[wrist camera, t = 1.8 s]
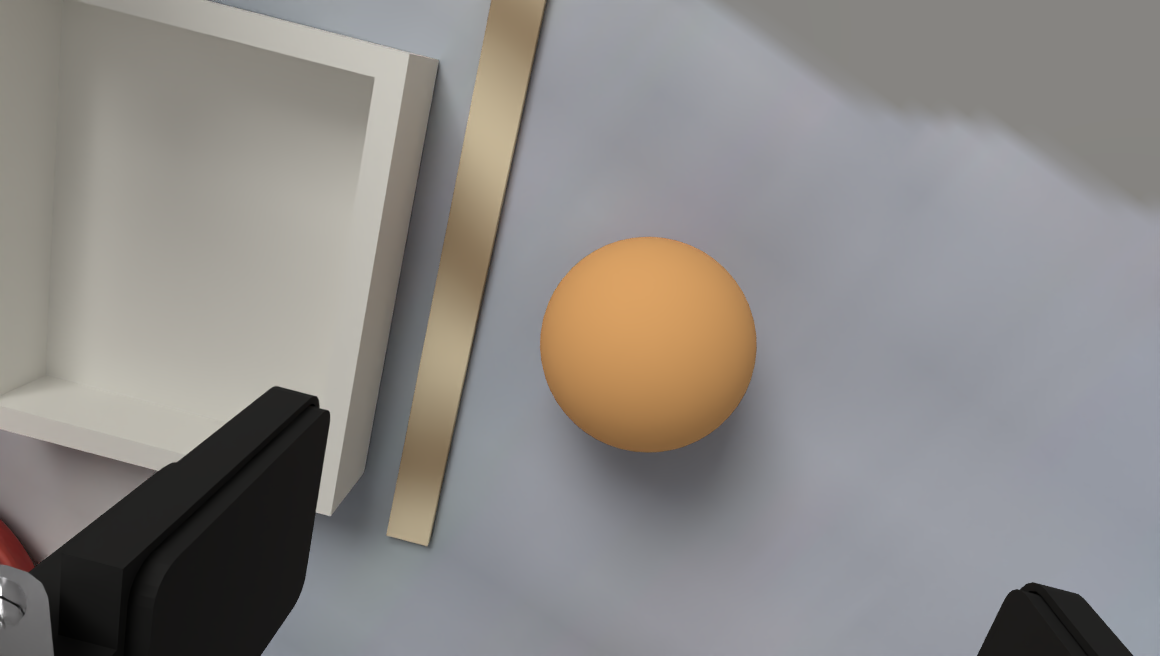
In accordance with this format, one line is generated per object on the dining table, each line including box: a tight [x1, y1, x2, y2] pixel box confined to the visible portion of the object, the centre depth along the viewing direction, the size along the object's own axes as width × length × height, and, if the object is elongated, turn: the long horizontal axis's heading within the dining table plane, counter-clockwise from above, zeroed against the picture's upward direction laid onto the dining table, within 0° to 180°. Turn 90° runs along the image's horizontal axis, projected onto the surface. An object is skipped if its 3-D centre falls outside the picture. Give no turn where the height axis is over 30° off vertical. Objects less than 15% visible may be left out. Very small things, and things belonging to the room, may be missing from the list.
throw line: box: [386, 0, 547, 546], centre depth 25 cm, size 20×2×1 cm, turn 166°
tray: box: [0, 0, 439, 516], centre depth 24 cm, size 14×12×3 cm
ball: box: [540, 237, 757, 452], centre depth 22 cm, size 6×6×6 cm
